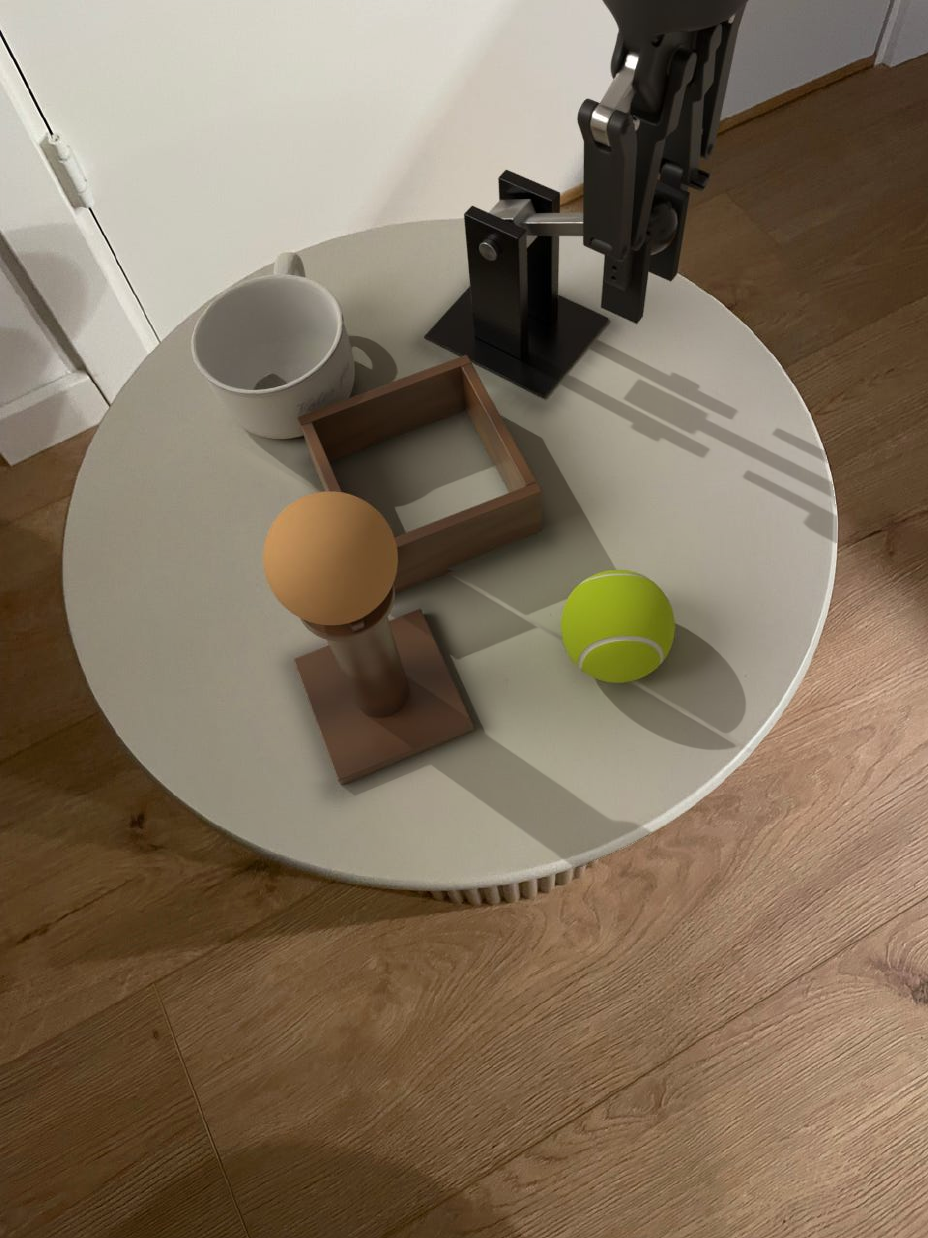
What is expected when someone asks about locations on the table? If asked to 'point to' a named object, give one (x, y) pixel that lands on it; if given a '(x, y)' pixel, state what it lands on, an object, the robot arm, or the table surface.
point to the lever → (571, 224)
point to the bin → (411, 409)
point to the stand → (380, 691)
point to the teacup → (275, 349)
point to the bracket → (516, 298)
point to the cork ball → (330, 558)
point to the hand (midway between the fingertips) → (639, 290)
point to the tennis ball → (617, 626)
